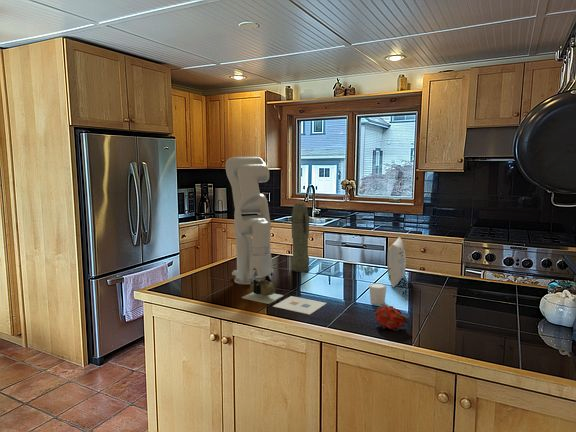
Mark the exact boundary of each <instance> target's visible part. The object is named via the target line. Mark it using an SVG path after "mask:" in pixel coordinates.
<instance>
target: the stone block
mask: <svg viewBox="0 0 576 432" xmlns="http://www.w3.org/2000/svg"><path fill="white" fill-rule="evenodd" d="M264 279H265V278H261V280H260V284H259V285H260V291H261V295H264V296H268V295H272V294H274V293H275V294H276V285H275V283H274V282H272V281H271V282H269V281H267V280H264ZM256 281H258V279H256ZM249 287H250V291H252V292H254V287H253V284H252V282H251V284H249Z"/></svg>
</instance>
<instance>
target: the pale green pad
mask: <svg viewBox="0 0 576 432" xmlns="http://www.w3.org/2000/svg"><path fill="white" fill-rule="evenodd" d="M282 297H284V295H283V294H280V293H279V294H278V293H276V292H275V293H274V294H272V295H268V296H264V295H261V294H254V291H252V292H250V293H248V294H246V295H244V296H241V299H244V300H250V301H253V302H257V303H263V304H267V305H270V304H271V303H273V302H275V301H277V300H279V299H281V298H282Z"/></svg>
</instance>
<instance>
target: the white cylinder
mask: <svg viewBox="0 0 576 432" xmlns="http://www.w3.org/2000/svg"><path fill="white" fill-rule="evenodd" d="M368 288H369V299H370V304H373V305H384V304H385V302H386V293H387V285H386V284H384V283H379V282H378V283H377V282H374V283H370V284H369V286H368ZM383 303H384V304H383Z"/></svg>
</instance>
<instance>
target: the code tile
mask: <svg viewBox="0 0 576 432" xmlns="http://www.w3.org/2000/svg"><path fill="white" fill-rule="evenodd" d="M325 305H327V302H324V301H323V302H322V301H318V300H313V299H308V298H304V297H298V296H292V295H290V296H289V297H286V298H284V299H283V300H281V301H280V302H278V303H275V304H274V305H272V307H273V308H278V309H283V310H287V311H291V312H295V313H299V314H300V313H301V314H303V315H309V316H310V315H311V314H313V313H314V312H316V311H318V310H320V309H321V308H322V307H323V306H325Z"/></svg>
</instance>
